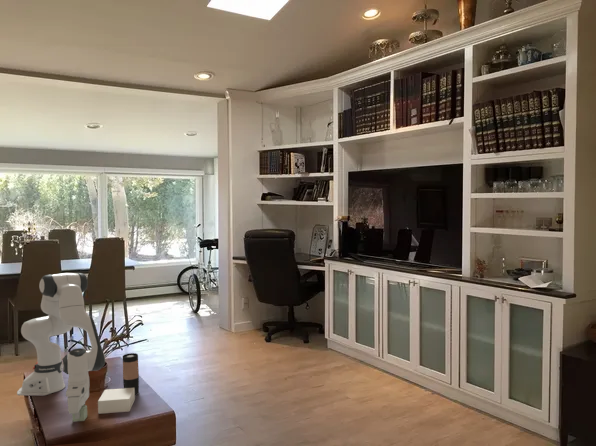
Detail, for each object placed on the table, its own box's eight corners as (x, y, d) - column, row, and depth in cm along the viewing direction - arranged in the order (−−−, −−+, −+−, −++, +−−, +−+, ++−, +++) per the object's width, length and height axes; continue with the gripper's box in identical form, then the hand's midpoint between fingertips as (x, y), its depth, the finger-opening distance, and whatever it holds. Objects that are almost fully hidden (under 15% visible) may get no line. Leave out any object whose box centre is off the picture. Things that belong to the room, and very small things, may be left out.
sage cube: (72, 421, 220) (72, 410, 220) (75, 416, 225) (75, 406, 225) (84, 420, 221) (83, 409, 221) (87, 415, 226) (86, 405, 226)
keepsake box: (98, 413, 228) (97, 401, 228) (105, 401, 242) (105, 389, 241) (129, 411, 230) (129, 398, 230) (134, 399, 244) (134, 387, 244)
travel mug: (120, 395, 250) (119, 356, 249) (131, 389, 256) (130, 352, 256) (131, 397, 246) (129, 358, 245) (142, 392, 253) (141, 354, 252)
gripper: (78, 377, 232) (79, 406, 233) (64, 394, 212) (65, 425, 212) (92, 376, 233) (93, 405, 234) (79, 393, 213) (80, 424, 213)
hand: (79, 415), depth 223 cm, fingers closed on sage cube, 5 cm apart
